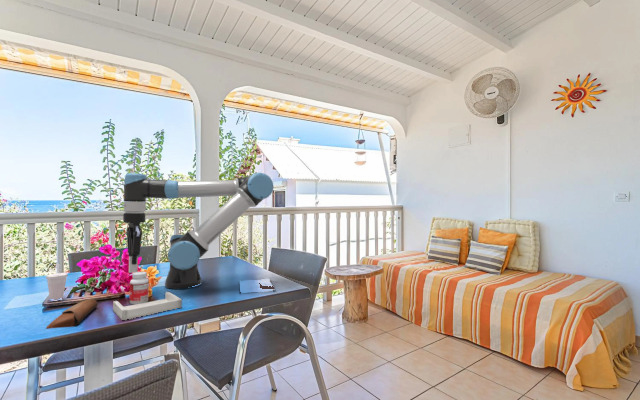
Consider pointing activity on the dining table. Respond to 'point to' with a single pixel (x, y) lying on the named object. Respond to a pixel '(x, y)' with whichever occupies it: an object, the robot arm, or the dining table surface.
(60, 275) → the smoothie
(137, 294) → the pill bottle
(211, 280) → the dining table surface
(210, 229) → the robot arm
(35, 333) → the dining table surface
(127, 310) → the tray
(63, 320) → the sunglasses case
